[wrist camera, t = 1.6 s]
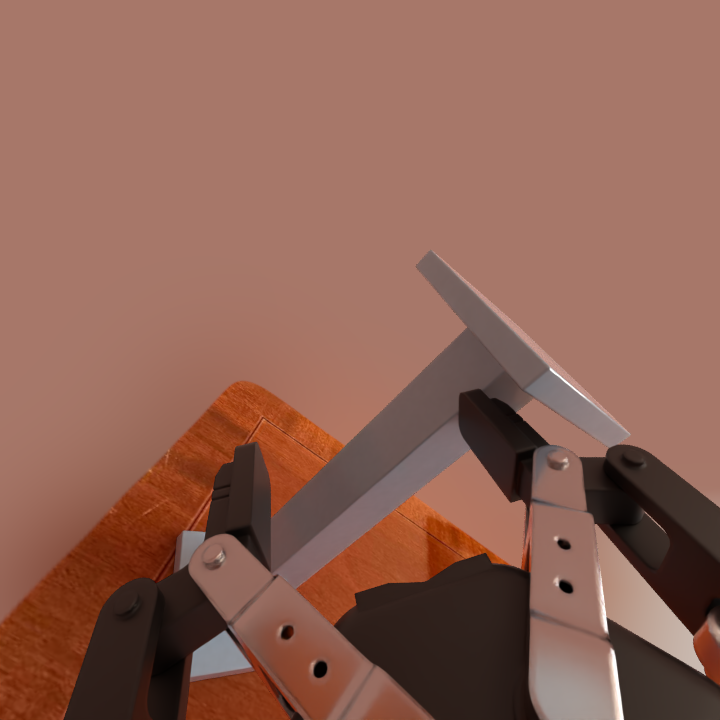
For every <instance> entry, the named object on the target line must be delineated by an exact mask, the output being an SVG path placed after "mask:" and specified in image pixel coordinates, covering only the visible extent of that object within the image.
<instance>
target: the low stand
mask: <svg viewBox="0 0 720 720" xmlns="http://www.w3.org/2000/svg"><path fill="white" fill-rule="evenodd" d="M416 268H417V269H418V270H419V272H420V273H421V274H422V275H423V276H424V277H425V279H426V280H427V281H428V282H429V283H430V284H431V286H432V287H433V288H434V289H435V290H436V291H437V293H439V295H440V296H441V297H442V298H443V299H444V301H445V302H446V303H447V304H448V305H449V306H450V307H451V309H452V310H453V311H454V312H455V313H456V315H457V316H458V317H459V318H460V319H461V320H462V322H463V323H464V324H465V325H466V326H467V328H466V329H465V330H464V331H463V332H462V333H461V334H460V335H459V336H458V337H457V338H456V339H455V340H454V341H453V342H452V343H451V344H450V345H449V346H448V347H447V348H446V349H445V350H444V351H443V352H442V353H440V355H438V356H437V357H436V358H435V359H434V360H433V361H432V362H431V363H430V364H429V365H428V366H427V367H426V368H425V369H424V370H423V371H422V372H421V373H420V374H419V375H418V376H417V377H416V378H415V379H414V380H413V381H412V382H411V383H410V384H409V385H408V386H407V387H406V388H404V389H403V390H402V392H400V393H399V394H398V395H397V396H396V397H395V398H394V399H393V400H392V401H391V402H390V403H389V404H388V405H387V406H386V407H385V408H384V409H383V410H382V411H381V412H380V413H379V414H378V415H377V416H376V417H375V418H374V419H373V420H372V421H371V422H370V423H369V424H367V425H366V426H365V427H364V428H363V429H362V430H361V431H360V432H359V433H358V434H357V435H356V436H355V437H354V438H353V439H352V440H351V441H350V442H349V443H348V444H347V445H346V446H345V447H344V448H343V449H342V450H341V451H340V452H339V453H338V454H337V455H336V456H335V457H333V458H332V459H331V460H330V461H329V462H328V463H327V464H326V465H325V466H324V467H323V468H322V469H321V470H320V471H319V472H318V473H317V474H316V475H315V476H314V477H313V478H312V479H311V480H310V481H309V482H308V483H307V484H306V485H305V486H304V487H303V488H302V489H301V490H300V491H298V492H297V493H296V494H295V495H294V496H293V497H292V498H291V499H290V500H289V501H288V502H287V503H286V504H285V505H284V506H283V507H282V508H281V509H280V510H279V511H278V512H277V513H276V514H275V515H274V516H273V517H272V518H271V572H270V573H271V574H272V575H274V576H276V575H277V574H278V575H280V576H282V577H283V578H284V579H285V580H286V581H287V582H288V583H289V584H290V585H291V586H293V587H294V588H295V589H296V588H298V587H299V586H300V585H301V584H303V583H304V582H305V581H306V580H308V579H309V578H310V577H311V576H313V575H314V574H315V573H316V572H318V571H319V570H320V569H321V568H323V567H324V566H325V565H326V564H327V563H329V562H330V561H331V560H332V559H334V558H335V557H336V556H337V555H339V554H340V553H341V552H342V551H344V550H345V549H346V548H347V547H349V546H350V545H351V544H352V543H354V542H355V541H356V540H357V539H359V538H360V537H361V536H362V535H364V534H365V533H366V532H367V531H369V530H370V529H371V528H372V527H374V526H375V525H376V524H377V523H379V522H380V521H381V520H382V519H384V518H385V517H386V516H387V515H389V514H390V513H391V512H392V511H394V510H395V509H396V508H397V507H399V506H400V505H401V504H402V503H404V502H405V501H406V500H407V499H409V498H410V497H411V496H412V495H414V494H415V493H416V492H417V491H418V490H420V489H421V488H422V487H424V486H425V485H426V484H427V483H429V482H430V481H431V480H432V479H434V478H435V477H436V476H437V475H439V474H440V473H441V472H442V471H444V470H445V469H446V468H447V467H449V466H450V465H451V464H452V463H454V462H455V461H456V460H457V459H459V458H460V457H461V456H462V455H464V454H465V453H466V452H467V451H469V450H470V449H471V448H470V447H469V446H468V444H467V443H466V441H465V440H464V439H463V437H462V435H461V433H460V429H459V424H458V418H459V394H460V393H461V392H466V391H470V390H474V389H481V390H482V391H483V392H484V393H485V394H486V395H487V396H488V397H489V398H490V399H491V398H497V399H499V400H501V401H503V402H505V403H507V404H508V405H509V406H510V407H511V408H512V409H513V410H514V411H515V412H517V411H519V410H520V409H521V408H522V407H524V406H525V405H526V404H527V403H528V402H530V401H531V400H532V399H536V400H537V401H539V402H540V403H542V404H543V405H545V406H546V407H548V408H549V409H551V410H552V411H554V412H555V413H557V414H558V415H560V416H561V417H563V418H564V419H566V420H567V421H569V422H570V423H572V424H573V425H575V426H576V427H578V428H579V429H581V430H582V431H584V432H585V433H587V434H588V435H590V436H592V437H593V438H594V439H596V440H598V441H599V442H600V443H602V444H603V445H605V446H606V447H608V448H610V447H612V446H615V445H617V444H618V443H620V442H621V441H623V440H624V439H626V438H627V437H629V436H630V433H629V432H628V431H627V430H626V429H625V428H624V427H623V426H622V425H621V424H620V423H619V422H618V421H617V420H616V419H615V418H614V417H613V416H612V415H611V414H609V413H608V412H607V411H606V410H605V409H604V408H603V407H602V406H601V405H600V404H599V403H598V402H597V401H596V400H595V399H594V398H593V397H592V396H591V395H590V394H589V393H587V392H586V391H585V390H584V389H583V388H582V387H581V386H580V385H579V384H578V383H577V382H576V381H575V380H574V379H573V378H572V377H571V376H570V375H569V374H568V373H566V371H565V370H563V369H562V368H561V367H560V366H559V365H558V364H557V363H556V362H555V361H554V360H553V359H552V358H551V357H550V356H549V355H548V354H547V353H546V352H545V351H543V349H542V348H540V347H539V346H538V345H537V344H536V343H535V342H534V341H533V340H532V339H531V338H530V337H529V336H528V335H527V334H526V333H525V332H524V331H523V330H522V329H521V328H519V326H517V325H516V324H515V323H514V322H513V321H512V320H511V319H509V318H508V317H507V316H506V315H505V314H504V313H502V311H501V310H499V309H498V308H497V307H496V306H495V305H494V304H493V303H491V302H490V301H489V300H488V299H487V298H486V297H485V296H484V295H482V294H481V293H480V292H479V291H478V290H477V289H476V288H474V287H473V286H472V285H471V284H470V283H469V282H468V281H466V280H465V279H464V278H463V277H462V276H461V275H460V274H459V273H457V272H456V271H455V270H454V269H453V268H452V267H450V266H449V265H448V264H447V263H446V262H445V261H444V260H443V259H442V258H440V257H439V256H438V255H437V254H436V253H435V252H434V251H432V250H430V251H429V252H428V253H427V254H426V255H425V256H424V257H423V258H422V260H421V261H420V262H419V263H418V264H417V265H416ZM204 538H205V532H197V531H182V532H181V534H180V535H179V536H178V537H177V543H176V553H175V563H174V573H175V572H177V571H179V570H180V569H182V568H183V567H185V566H186V565H187V564H189V561H190V558H191V556H192V554H193V553H194V551H195V550H196V549H197V548H198V546H199V545H201V544H202V543H203V542H204ZM174 573H173V574H174ZM251 671H255V670H254V669H253V668H252V666H251V665H250V664H249V662H248V661H247V660H246V658H245V657H244V656H243V654H242V653H241V652H240V650H239V649H238V648H237V646H236V645H235V644H234V642H233V641H232V640H231V638H230V637H229V636H228V634H227V633H226V632H225V631H223V632H222V633H220V634H219V635H217V636H216V637H214V638H213V639H212V640H210V641H209V642H207V643H206V644H204V645H203V646H201V647H200V648H198V649H197V650H195V651H194V652H193V658H192V667H191V676H190V682H193V681H198V680H204V679H210V678H216V677H222V676H228V675H234V674H239V673H245V672H251Z"/></svg>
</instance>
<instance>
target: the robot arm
mask: <svg viewBox="0 0 720 720" xmlns="http://www.w3.org/2000/svg"><path fill="white" fill-rule="evenodd" d="M458 424H459V429H460V433H461V435H462V437H463V439H464V440H465V441H466V443H467V444H468V446H469V447H470V448H471V450H472V451H473V452H474V454H475V455H476V456H477V458H478V459H479V460H480V462H481V463H482V464H483V466H484V467H485V469H486V470H487V471H488V473H489V474H490V476H491V477H492V478H493V480H494V481H495V482H496V484H497V485H498V486H499V488H500V489H501V490H502V492H503V493H504V495H505V496H506V497H507V499H508V500H509V501H510V502H515V501H518V500H523V502H524V503H525V504H526V508H525V522H524V540H523V557H522V567H521V569H520V568H517V567H514V566H510V565H505V564H496V563H491V561H490V559H489V558H488V556H487V554H486V553H484V554H481V555H477V556H474V557H471V558H468V559H465V560H461V561H458V562H455V563H453V564H452V565H450V566H449V567H447V568H446V569H444V570H443V571H441V572H440V573H438V574H437V575H435V576H434V577H432V578H431V579H429V580H428V581H425V582H414V583H387V584H384V585H381V586H378V587H375V588H371V589H368V590H365V591H362V592H358V593H355V599H356V603H357V605H356V606H355V607H353V608H352V609H350V610H349V611H348V612H347V613H345V614H344V615H343V616H342V617H341V618H340V619H339V620H338V622H337V623H336V624H335V625H334V626H333V625H332V624H331V623H330V622H329V621H328V620H326V619H325V618H324V617H323V616H322V615H321V614H320V613H319V612H318V611H317V610H316V609H315V608H314V607H313V606H312V605H311V604H310V603H309V602H308V601H307V600H306V599H305V598H304V597H303V596H302V595H301V594H300V593H299V592H298V591H297V590H296V589H295V588H294V587H293V586H291V585H290V584H289V583H288V582H287V581H286V580H285V579H284V578H283V577H282V576H280V575H278V574H277V575H276V576H274V575H272V574H271V573H270V572H271V487H270V479H269V474H268V471H267V468H266V465H265V462H264V459H263V456H262V453H261V451H260V448H259V445H258V443H257V442H253V443H249V444H245V445H240V446H236V448H235V453H234V461H233V462H231V463H227V464H223V466H222V467H221V469H220V470H219V472H218V473H217V475H216V476H215V482H214V487H213V490H214V491H213V493H212V501H211V504H210V510H209V516H208V521H207V527H206V532H205V538H204V542H203V543H202V544H201V545H199V546H198V548H197V549H196V550H195V551H194V553H193V554H192V556H191V558H190V561H189V564H187V565H186V566H185V567H183V568H182V569H180V570H179V571H177V572H175V573H174V574H172V575H170V576H168V577H167V578H165V579H163V580H162V581H160V582H158V583H155V582H154V581H153V580H152V579H149V578H138V579H135V580H132V581H130V582H128V583H126V584H125V585H123V586H122V587H120V588H119V589H118V590H116V591H115V592H114V593H113V594H112V595H111V596H110V598H109V599H108V600H107V601H106V603H105V604H104V606H103V607H102V609H101V611H100V614H99V616H98V619H97V622H96V625H95V628H94V631H93V634H92V637H91V640H90V643H89V646H88V649H87V652H86V655H85V658H84V661H83V664H82V667H81V670H80V673H79V676H78V679H77V681H76V684H75V687H74V690H73V693H72V696H71V699H70V702H69V705H68V708H67V711H66V714H65V717H64V720H186V711H187V702H188V693H189V684H190V676H191V667H192V658H193V652H194V651H195V650H197V649H198V648H200V647H201V646H203V645H204V644H206V643H207V642H209V641H210V640H212V639H213V638H214V637H216V636H217V635H219V634H220V633H222V632H223V631H225V632H226V633H227V634H228V636H229V637H230V638H231V640H232V641H233V642H234V644H235V645H236V646H237V648H238V649H239V650H240V652H241V653H242V654H243V656H244V657H245V658H246V660H247V661H248V662H249V664H250V665H251V666H252V668H253V669H254V670H255V672H256V673H257V674H258V676H259V677H260V679H261V680H262V681H263V683H264V684H265V686H266V687H267V689H268V690H269V692H270V693H271V695H272V696H273V697H274V699H275V700H276V701H277V703H278V704H279V706H280V707H281V708H282V710H283V711H284V712H285V714H286V715H287V716H288V718H289V719H290V720H720V508H719V507H718V506H716V504H714V503H713V502H712V501H710V500H709V499H708V498H707V497H705V496H704V495H703V494H701V493H700V492H699V491H698V490H697V489H695V488H694V487H693V486H691V485H690V484H689V483H688V482H686V481H685V480H684V479H683V478H681V477H680V476H679V475H677V474H676V473H675V472H674V471H672V470H671V469H670V468H669V467H667V466H666V465H665V464H663V463H662V462H661V461H660V460H658V459H657V458H656V457H655V456H653V455H652V454H650V453H649V452H647V451H645V450H643V449H641V448H638V447H635V446H630V445H615V446H612V447H610V448H609V449H608V451H607V453H606V457H587V458H586V457H578V456H577V455H576V454H575V453H573V452H572V451H570V450H569V449H566V448H564V447H561V446H557V445H549V444H548V443H547V442H546V441H545V440H544V439H543V438H542V437H541V436H540V435H539V434H538V433H537V432H536V431H535V430H534V429H533V428H532V427H531V426H530V425H529V424H528V423H527V422H526V421H523V418H522V417H521V416H519V415H518V414H516V412H515V411H514V410H513V409H512V408H511V407H510V406H509V405H508V404H507V403H505V402H503V401H501V400H499V399H497V398H491V399H490V398H489V397H488V396H487V395H486V394H485V393H484V392H483V391H482V390H481V389H474V390H470V391H466V392H461V393H460V394H459V418H458ZM645 512H647V514H649V515H650V516H651V517H652V518H653V519H654V520H655V521H656V522H657V523H658V524H659V525H660V526H661V527H662V528H663V529H664V530H665V532H666V533H667V534H666V533H665V532H664V531H663V530H662V529H661V528H660V527H659V526H658V525H657V524H656V523H655V522H654V521H653V520H652V519H651V518H650V517H649V516H648V515H647V514H645ZM595 524H597V525H598V526H599V527H600V528H601V530H602V531H603V532H604V533H605V534H606V535H607V536H608V538H609V539H610V540H611V541H612V542H613V543H614V545H615V546H616V547H617V548H618V549H619V550H620V552H621V553H622V554H623V555H624V556H625V557H626V558H627V560H628V561H629V562H630V563H631V564H632V565H633V567H634V568H635V569H636V570H637V571H638V572H639V573H640V575H641V576H642V577H643V578H644V579H645V580H646V582H647V583H648V584H649V585H650V586H651V587H652V588H653V590H654V591H655V592H656V593H657V594H658V595H659V597H660V598H661V599H662V600H663V601H664V602H665V604H666V605H667V606H668V607H669V608H670V609H671V610H672V612H673V613H674V614H675V615H676V616H677V617H678V619H679V620H680V621H681V622H682V623H683V624H684V625H685V627H686V628H687V629H688V630H689V631H690V632H691V634H692V635H693V636H694V638H693V645H694V649H695V652H696V655H697V657H698V658H699V660H700V662H701V663H702V665H703V666H704V671H705V674H706V676H705V675H704V674H702V673H701V672H699V671H697V670H696V669H694V668H692V667H690V666H689V665H687V664H685V663H684V662H682V661H680V660H679V659H677V658H675V657H673V656H672V655H670V654H668V653H667V652H665V651H663V650H662V649H660V648H658V647H656V646H655V645H653V644H651V643H649V642H648V641H646V640H644V639H643V638H641V637H639V636H638V635H636V634H634V633H632V632H631V631H629V630H627V629H625V628H624V627H622V626H620V625H619V624H617V623H615V622H613V621H612V620H610V619H608V618H607V617H606V613H605V605H604V597H603V589H602V581H601V573H600V565H599V557H598V549H597V541H596V533H595Z"/></svg>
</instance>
